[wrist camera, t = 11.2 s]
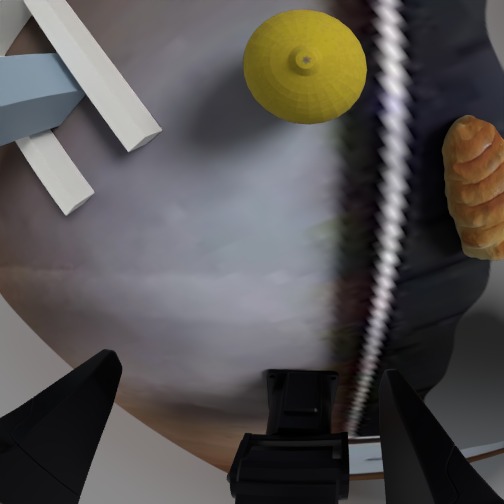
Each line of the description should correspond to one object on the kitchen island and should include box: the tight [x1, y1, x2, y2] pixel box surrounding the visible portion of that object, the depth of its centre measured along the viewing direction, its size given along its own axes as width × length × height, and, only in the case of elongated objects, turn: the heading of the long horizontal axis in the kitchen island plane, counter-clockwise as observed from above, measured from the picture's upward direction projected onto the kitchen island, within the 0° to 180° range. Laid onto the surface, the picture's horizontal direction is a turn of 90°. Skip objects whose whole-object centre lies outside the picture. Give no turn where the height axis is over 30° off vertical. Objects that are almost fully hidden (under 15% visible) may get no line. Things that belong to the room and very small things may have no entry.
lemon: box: [243, 10, 367, 124], centre depth 13 cm, size 6×6×8 cm
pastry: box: [442, 115, 504, 261], centre depth 16 cm, size 9×7×4 cm
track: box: [0, 0, 162, 216], centre depth 15 cm, size 18×9×6 cm, turn 35°
